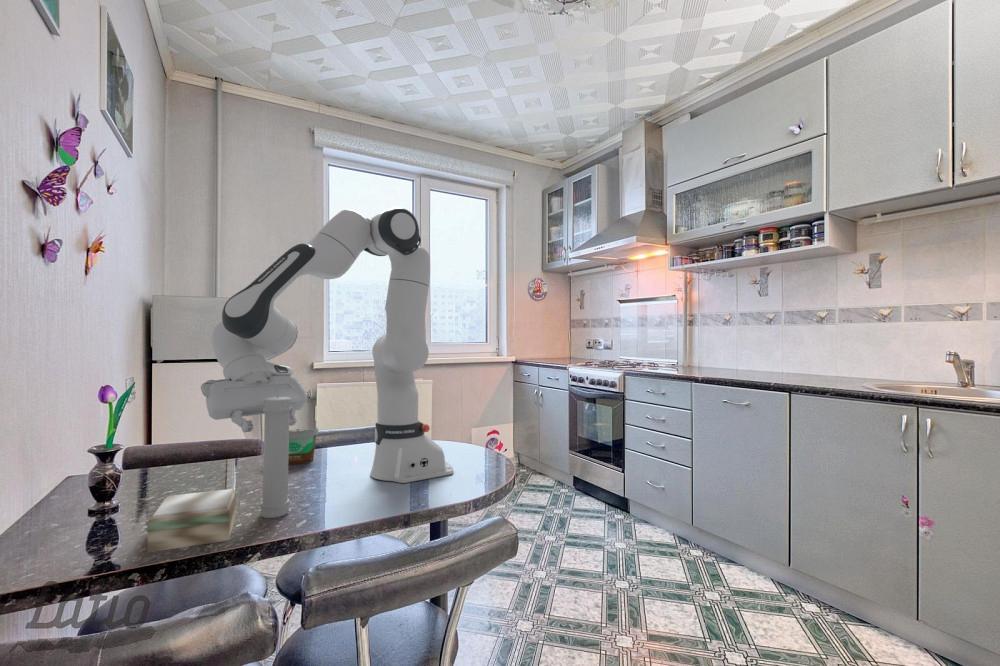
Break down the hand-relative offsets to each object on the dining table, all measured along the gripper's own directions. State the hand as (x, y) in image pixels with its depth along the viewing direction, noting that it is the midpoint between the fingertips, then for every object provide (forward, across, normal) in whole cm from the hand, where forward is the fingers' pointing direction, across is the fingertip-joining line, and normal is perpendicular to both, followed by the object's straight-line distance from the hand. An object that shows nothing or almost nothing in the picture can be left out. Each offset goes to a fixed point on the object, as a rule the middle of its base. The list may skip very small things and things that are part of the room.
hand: (271, 427), depth 97 cm
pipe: (+14, 0, +12) cm, 18 cm away
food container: (-9, +25, +35) cm, 44 cm away
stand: (+12, -14, +13) cm, 23 cm away
